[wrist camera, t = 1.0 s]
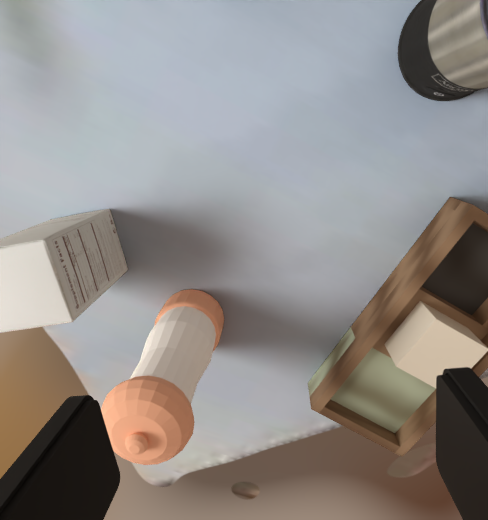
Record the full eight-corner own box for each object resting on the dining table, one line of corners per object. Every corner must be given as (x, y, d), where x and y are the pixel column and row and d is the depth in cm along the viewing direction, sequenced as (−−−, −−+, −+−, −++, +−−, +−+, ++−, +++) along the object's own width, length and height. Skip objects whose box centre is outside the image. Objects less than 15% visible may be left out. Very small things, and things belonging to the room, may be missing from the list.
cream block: (420, 300, 38) (436, 319, 34) (468, 328, 38) (489, 349, 34) (384, 344, 39) (395, 366, 36) (430, 369, 40) (446, 394, 36)
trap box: (450, 196, 36) (473, 204, 32) (546, 255, 38) (581, 271, 33) (307, 383, 45) (311, 408, 40) (390, 426, 46) (402, 456, 42)
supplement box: (71, 279, 43) (-8, 335, 31) (49, 218, 41) (-44, 252, 29) (130, 271, 42) (73, 325, 30) (112, 207, 40) (42, 238, 28)
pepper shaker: (156, 333, 44) (74, 470, 26) (171, 280, 42) (92, 391, 24) (214, 352, 44) (172, 501, 26) (232, 300, 42) (199, 425, 24)
